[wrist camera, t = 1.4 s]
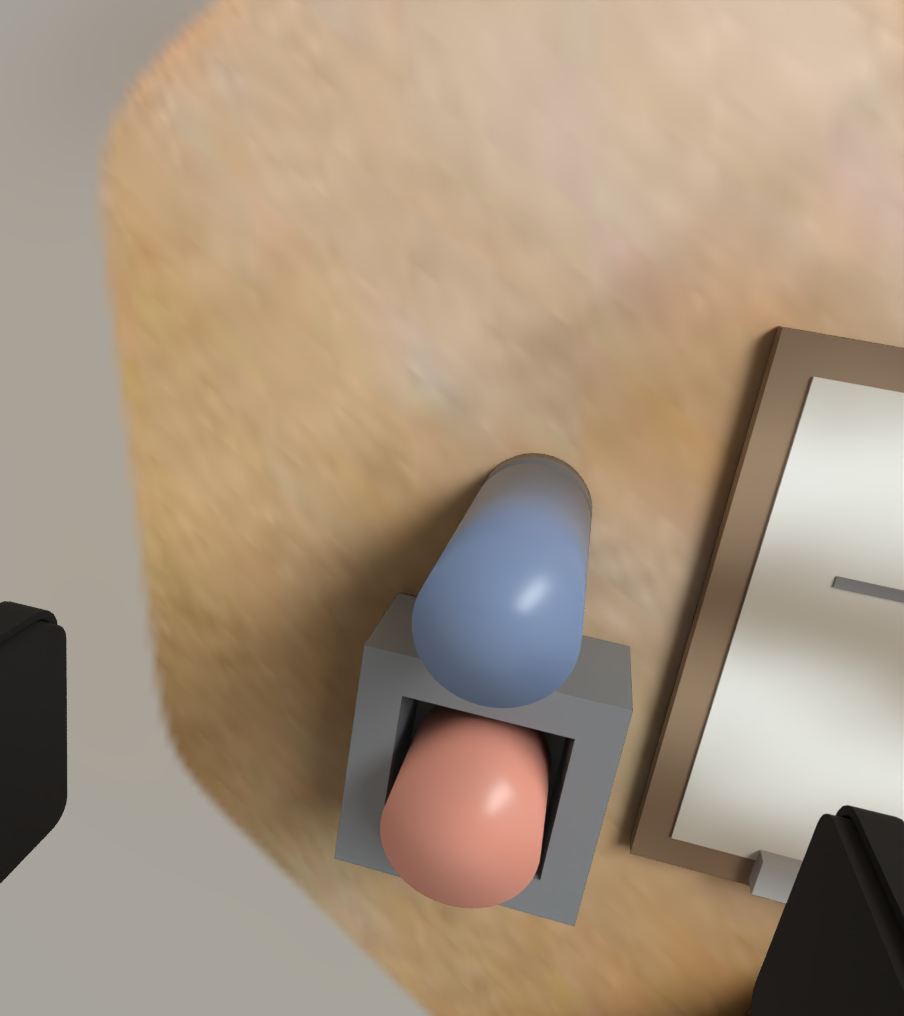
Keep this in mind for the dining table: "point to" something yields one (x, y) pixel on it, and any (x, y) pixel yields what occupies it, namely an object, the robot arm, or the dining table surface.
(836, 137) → the dining table surface
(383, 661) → the button housing
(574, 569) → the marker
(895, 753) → the clipboard
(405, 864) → the button
